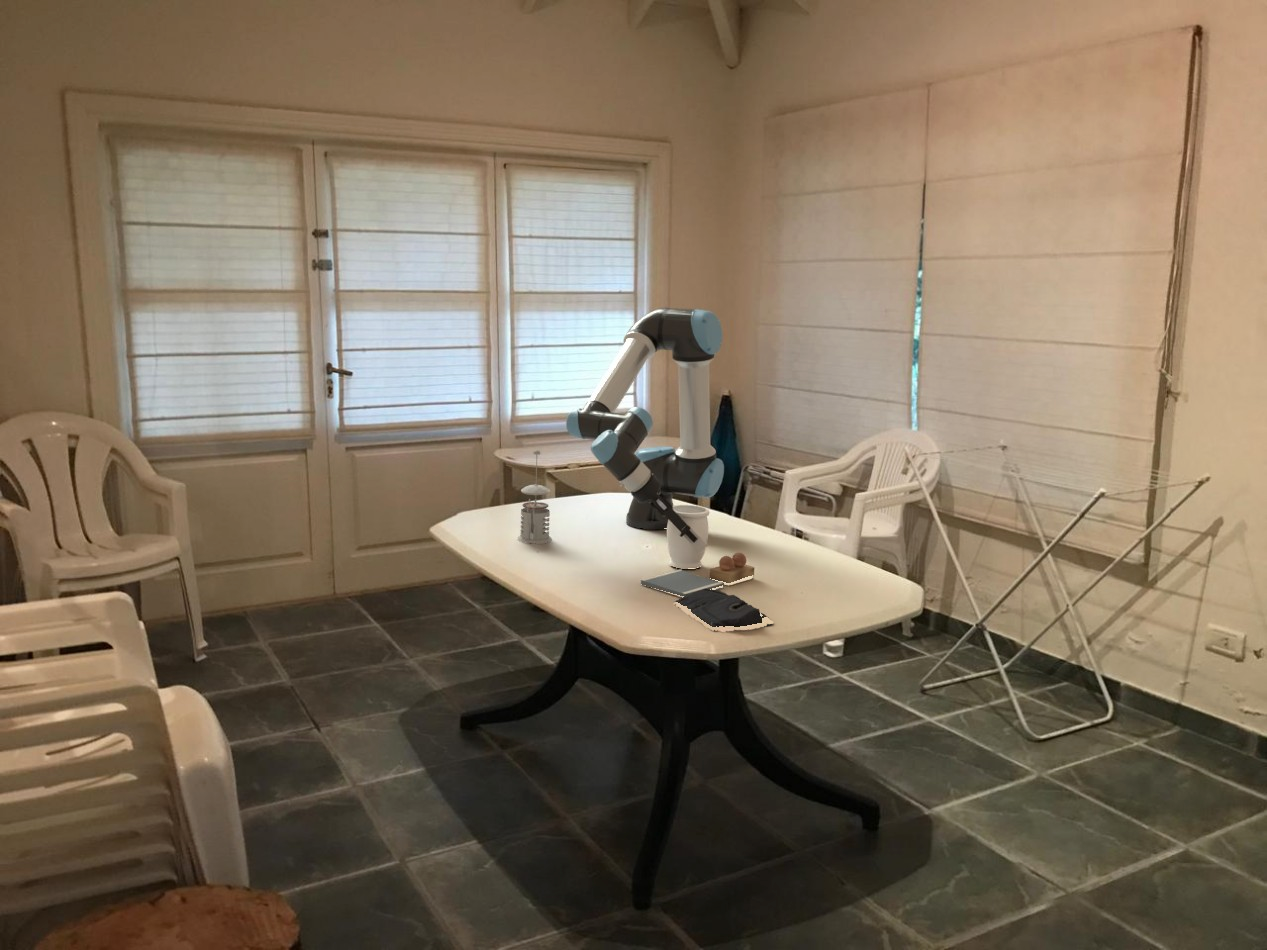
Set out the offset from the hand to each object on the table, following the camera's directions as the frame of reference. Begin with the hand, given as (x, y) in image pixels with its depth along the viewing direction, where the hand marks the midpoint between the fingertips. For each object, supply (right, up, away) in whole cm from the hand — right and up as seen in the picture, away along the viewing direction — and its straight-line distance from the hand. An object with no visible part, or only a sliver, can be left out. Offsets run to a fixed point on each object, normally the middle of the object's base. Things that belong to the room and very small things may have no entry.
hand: (698, 543), depth 260 cm
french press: (-44, -1, +20) cm, 48 cm away
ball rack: (+8, -8, -10) cm, 15 cm away
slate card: (-5, -9, -17) cm, 20 cm away
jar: (-3, -6, +1) cm, 7 cm away
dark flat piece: (+3, -14, -36) cm, 39 cm away
